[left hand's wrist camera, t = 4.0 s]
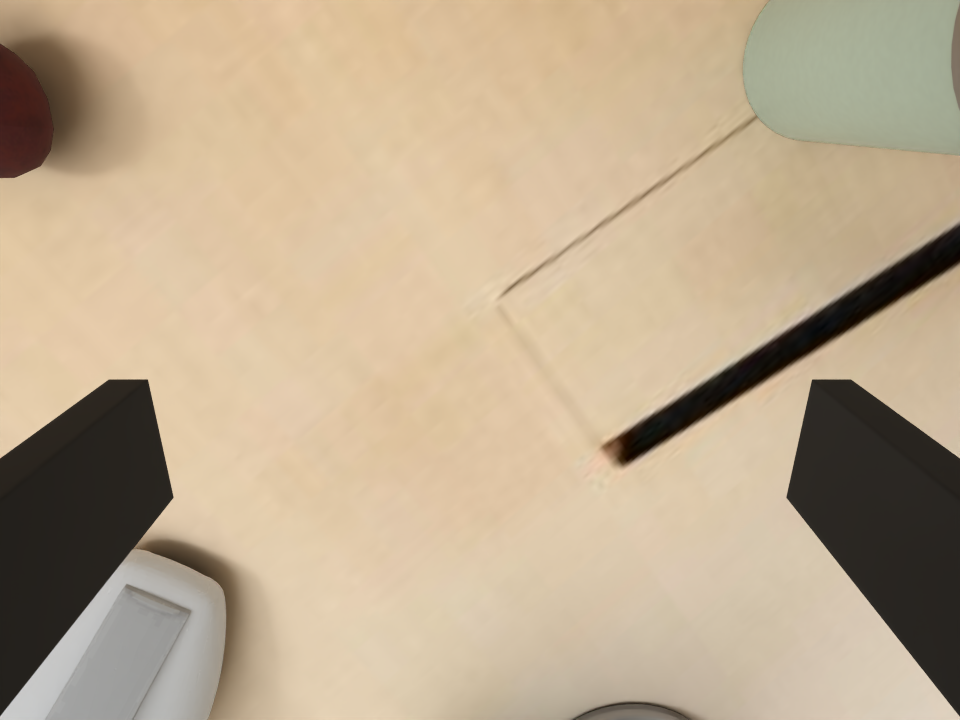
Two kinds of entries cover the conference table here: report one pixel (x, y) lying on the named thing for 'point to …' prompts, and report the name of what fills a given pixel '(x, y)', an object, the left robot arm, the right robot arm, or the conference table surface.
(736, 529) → the conference table surface
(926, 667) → the left robot arm
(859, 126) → the jar
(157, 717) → the projector
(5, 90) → the dark maroon ball
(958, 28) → the lid
